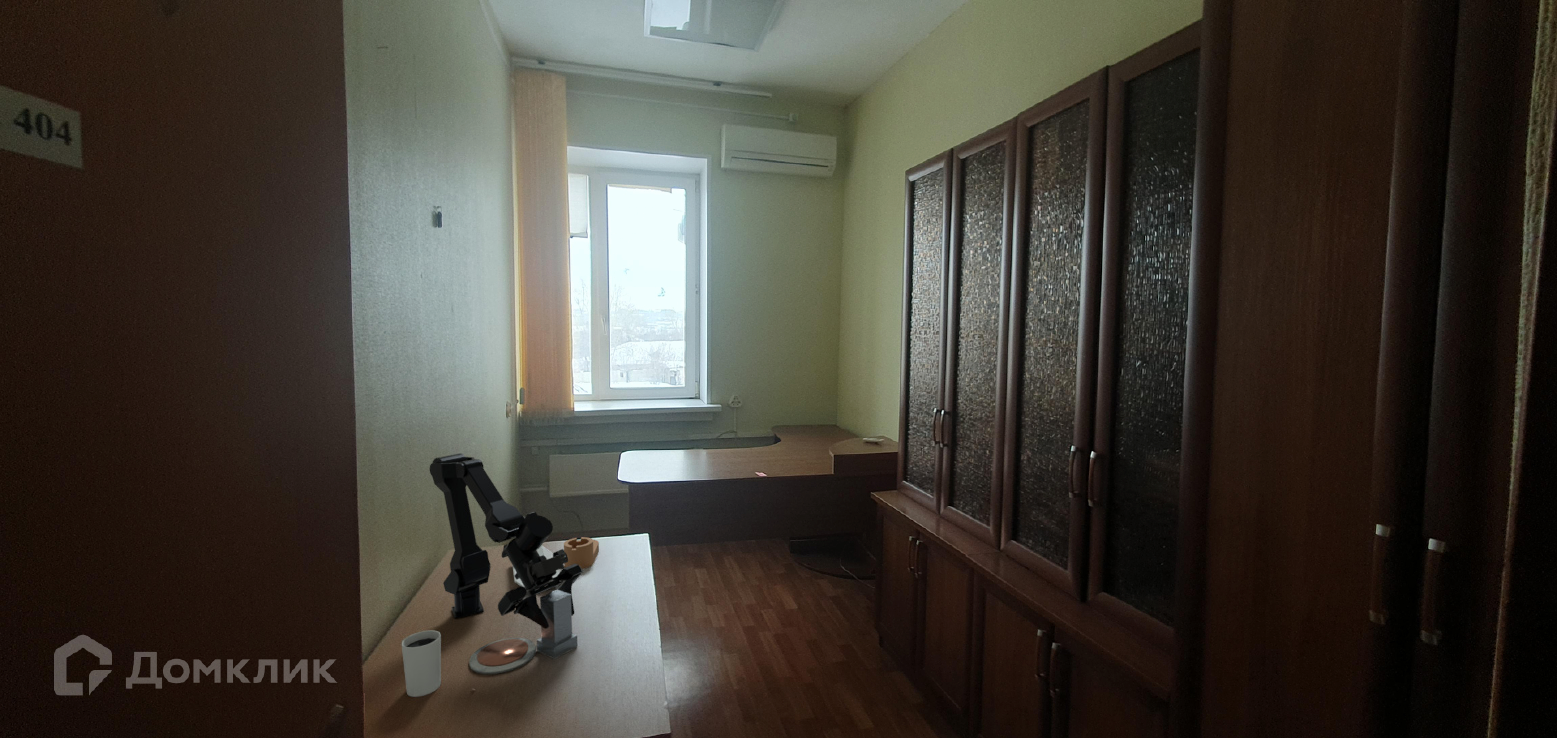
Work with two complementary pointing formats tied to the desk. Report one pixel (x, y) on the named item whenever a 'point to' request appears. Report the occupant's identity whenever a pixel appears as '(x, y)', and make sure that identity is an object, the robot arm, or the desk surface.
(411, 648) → the white cup
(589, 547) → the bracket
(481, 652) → the copper centred dish
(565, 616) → the grey stepped block
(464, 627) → the desk surface
